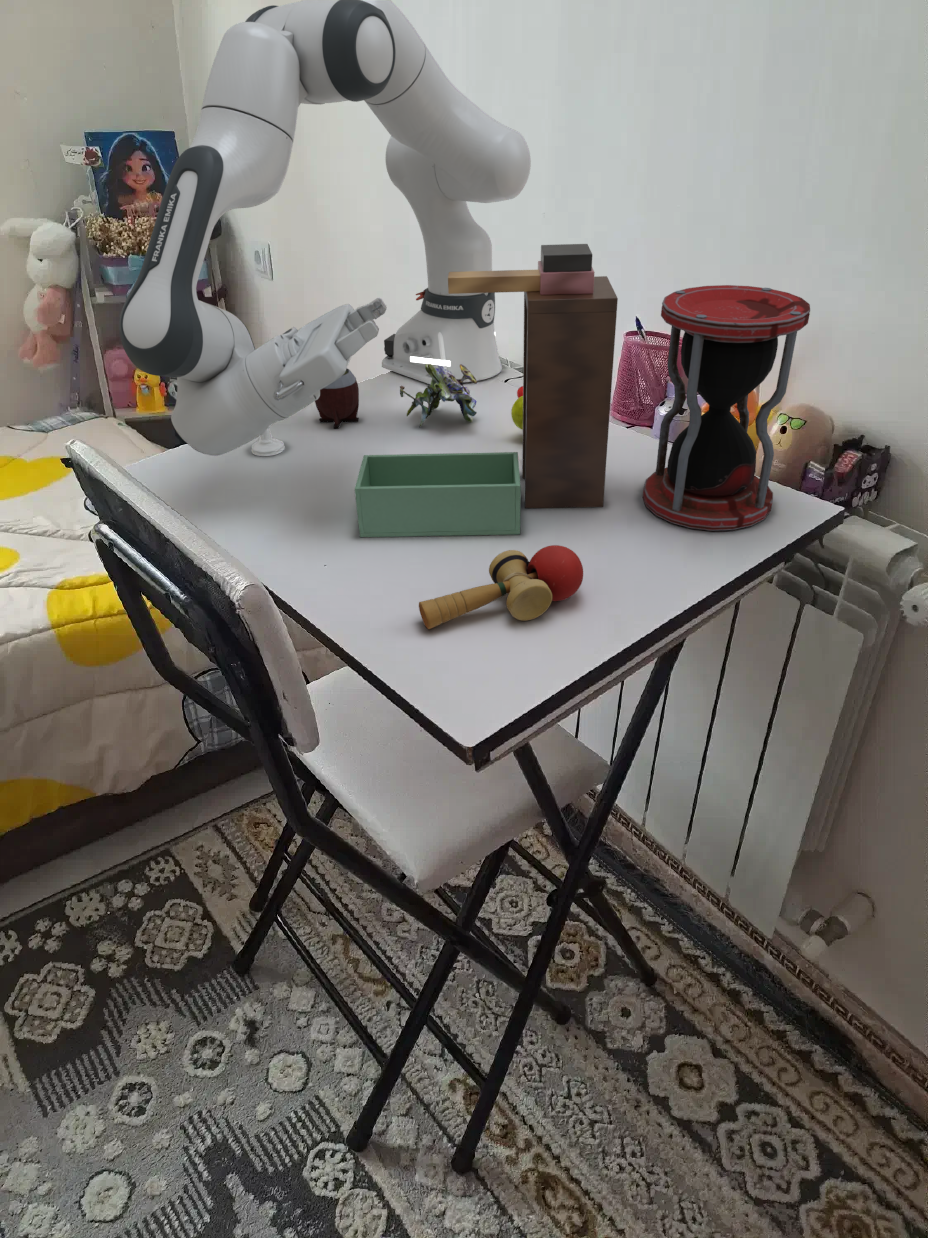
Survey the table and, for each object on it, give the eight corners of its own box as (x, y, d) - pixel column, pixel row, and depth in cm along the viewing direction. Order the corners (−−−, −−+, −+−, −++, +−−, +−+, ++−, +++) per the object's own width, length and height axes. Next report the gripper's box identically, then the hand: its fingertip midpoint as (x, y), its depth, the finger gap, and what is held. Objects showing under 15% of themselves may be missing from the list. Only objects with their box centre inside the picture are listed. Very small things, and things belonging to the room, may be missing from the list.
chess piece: (290, 444, 130) (280, 379, 124) (276, 457, 126) (265, 391, 120) (260, 441, 131) (249, 377, 125) (245, 454, 127) (233, 389, 121)
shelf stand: (525, 508, 111) (527, 300, 96) (522, 474, 119) (524, 278, 104) (603, 506, 110) (617, 297, 96) (594, 473, 119) (607, 275, 104)
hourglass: (730, 545, 101) (766, 331, 87) (617, 504, 111) (634, 305, 96) (794, 498, 111) (836, 298, 96) (685, 464, 120) (709, 276, 106)
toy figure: (553, 463, 121) (555, 418, 118) (514, 465, 122) (514, 419, 118) (543, 415, 136) (544, 374, 132) (508, 417, 136) (508, 375, 132)
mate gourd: (321, 413, 140) (309, 319, 131) (369, 412, 140) (360, 318, 131) (312, 431, 134) (299, 333, 125) (363, 430, 133) (353, 333, 125)
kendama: (442, 661, 87) (601, 601, 90) (427, 607, 84) (592, 547, 87) (421, 631, 93) (569, 577, 97) (406, 580, 91) (560, 526, 94)
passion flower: (467, 452, 139) (496, 406, 128) (404, 454, 134) (429, 406, 124) (449, 395, 142) (476, 346, 132) (388, 394, 138) (410, 343, 128)
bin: (359, 537, 106) (354, 488, 102) (368, 501, 114) (363, 454, 110) (520, 534, 105) (520, 485, 101) (517, 498, 113) (517, 451, 109)
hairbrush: (448, 297, 98) (446, 258, 95) (449, 284, 103) (448, 246, 100) (593, 293, 97) (595, 254, 95) (588, 280, 102) (589, 242, 100)
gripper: (252, 380, 96) (353, 315, 92) (287, 328, 113) (373, 270, 109) (287, 426, 99) (386, 365, 95) (316, 368, 116) (401, 314, 112)
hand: (379, 314), depth 102 cm, fingers open, 8 cm apart
